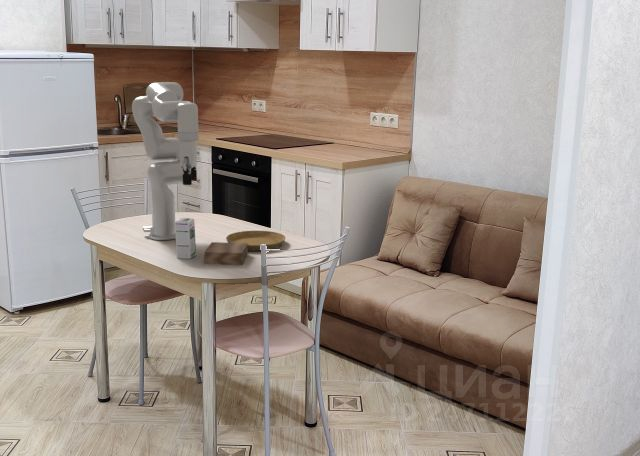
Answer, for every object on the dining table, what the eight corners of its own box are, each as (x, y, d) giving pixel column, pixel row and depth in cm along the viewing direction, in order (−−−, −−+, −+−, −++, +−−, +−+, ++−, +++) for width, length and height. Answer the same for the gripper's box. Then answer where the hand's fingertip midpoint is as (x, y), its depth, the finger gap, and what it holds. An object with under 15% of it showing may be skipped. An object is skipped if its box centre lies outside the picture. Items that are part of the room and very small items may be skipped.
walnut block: (204, 265, 266) (204, 252, 265) (212, 254, 280) (211, 242, 278) (242, 266, 266) (242, 253, 264) (247, 255, 279) (247, 243, 278)
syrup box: (190, 259, 272) (189, 221, 268) (176, 258, 273) (174, 221, 270) (196, 255, 277) (195, 218, 274) (181, 254, 279) (180, 217, 275)
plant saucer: (255, 234, 310) (255, 227, 309) (297, 244, 295) (297, 236, 294) (213, 245, 292) (213, 237, 291) (256, 256, 277) (256, 248, 276)
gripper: (183, 134, 274) (184, 178, 278) (173, 139, 257) (174, 186, 262) (202, 134, 274) (204, 178, 278) (193, 139, 257) (195, 186, 261)
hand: (190, 182), depth 270 cm, fingers open, 9 cm apart
